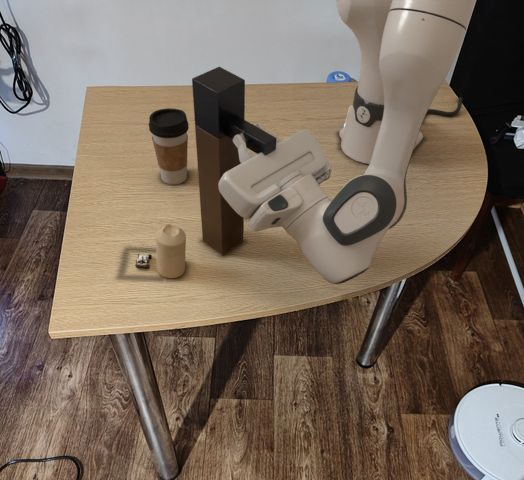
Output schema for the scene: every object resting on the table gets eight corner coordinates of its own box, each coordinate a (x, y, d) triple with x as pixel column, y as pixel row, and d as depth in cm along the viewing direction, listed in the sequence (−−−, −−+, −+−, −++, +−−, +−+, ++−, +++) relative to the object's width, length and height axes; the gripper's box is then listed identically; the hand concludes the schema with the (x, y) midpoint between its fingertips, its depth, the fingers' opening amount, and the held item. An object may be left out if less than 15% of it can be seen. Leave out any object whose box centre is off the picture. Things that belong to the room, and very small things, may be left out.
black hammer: (220, 112, 97) (219, 66, 90) (283, 148, 91) (286, 101, 84) (194, 125, 94) (191, 78, 88) (257, 163, 88) (259, 115, 82)
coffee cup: (186, 190, 125) (181, 129, 113) (150, 184, 126) (141, 123, 114) (196, 168, 130) (192, 108, 118) (162, 163, 131) (154, 102, 119)
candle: (161, 281, 107) (160, 242, 99) (153, 261, 110) (151, 222, 102) (188, 275, 109) (190, 236, 101) (179, 256, 112) (180, 217, 104)
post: (223, 228, 118) (220, 112, 97) (243, 242, 115) (244, 126, 94) (202, 241, 115) (194, 125, 94) (222, 255, 112) (218, 139, 92)
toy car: (151, 256, 111) (150, 249, 110) (148, 271, 109) (147, 263, 107) (138, 256, 111) (137, 248, 110) (135, 270, 109) (134, 263, 107)
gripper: (345, 164, 93) (296, 96, 92) (260, 218, 84) (205, 143, 83) (327, 183, 99) (280, 119, 98) (245, 235, 89) (193, 166, 89)
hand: (245, 131), depth 90 cm, fingers closed on black hammer, 2 cm apart
